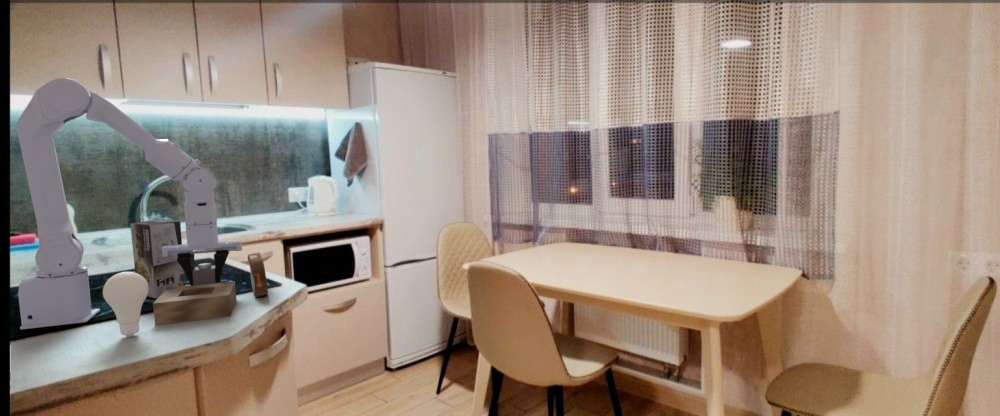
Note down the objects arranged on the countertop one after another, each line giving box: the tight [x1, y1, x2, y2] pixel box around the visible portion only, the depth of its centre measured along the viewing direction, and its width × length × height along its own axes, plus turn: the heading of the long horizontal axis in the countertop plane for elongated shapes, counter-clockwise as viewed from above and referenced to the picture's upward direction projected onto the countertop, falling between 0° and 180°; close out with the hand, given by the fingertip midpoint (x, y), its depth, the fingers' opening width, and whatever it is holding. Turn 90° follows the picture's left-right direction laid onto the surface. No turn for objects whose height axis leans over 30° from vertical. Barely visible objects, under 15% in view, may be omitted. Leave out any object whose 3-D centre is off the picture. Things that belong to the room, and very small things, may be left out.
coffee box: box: [130, 219, 186, 299], centre depth 112 cm, size 9×6×16 cm
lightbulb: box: [102, 271, 149, 338], centre depth 84 cm, size 6×6×11 cm
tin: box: [247, 252, 269, 298], centre depth 111 cm, size 15×3×8 cm, turn 29°
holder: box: [152, 280, 237, 326], centre depth 98 cm, size 12×12×4 cm
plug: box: [192, 262, 216, 285], centre depth 108 cm, size 4×4×7 cm
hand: (206, 286), depth 108 cm, fingers closed on plug, 4 cm apart
